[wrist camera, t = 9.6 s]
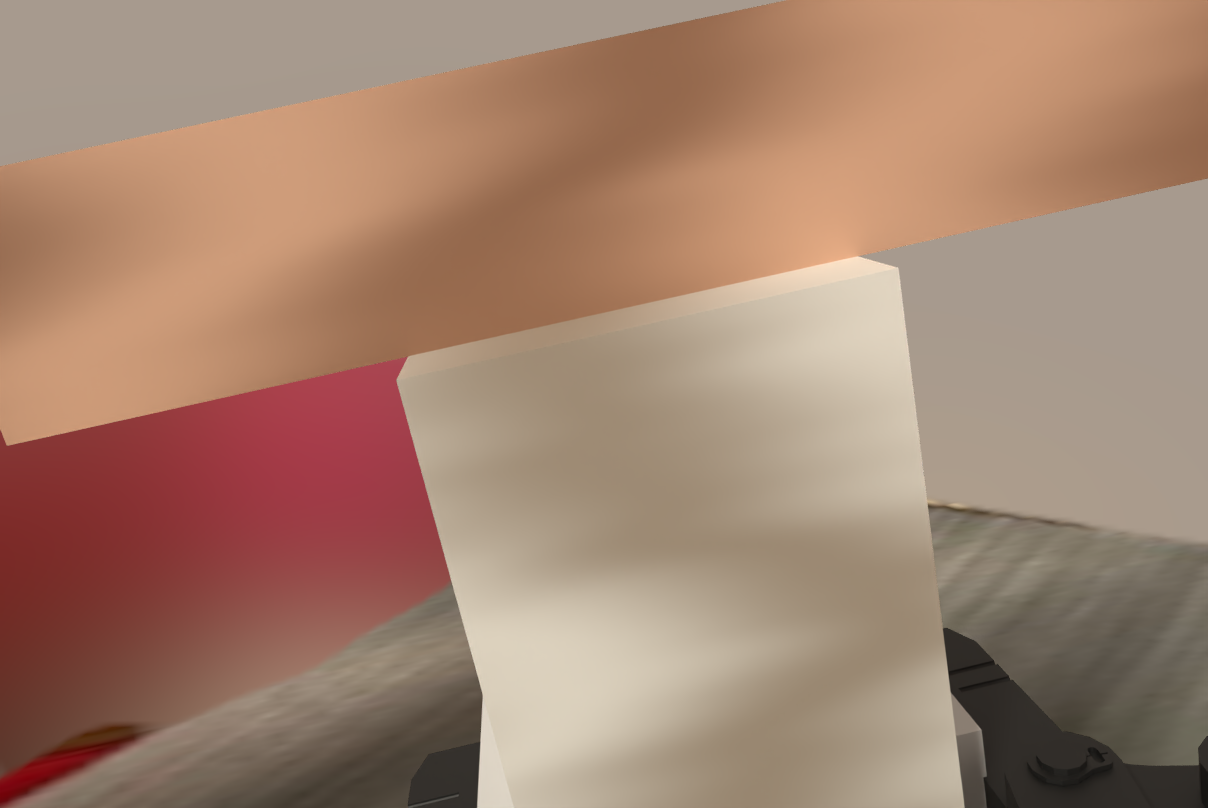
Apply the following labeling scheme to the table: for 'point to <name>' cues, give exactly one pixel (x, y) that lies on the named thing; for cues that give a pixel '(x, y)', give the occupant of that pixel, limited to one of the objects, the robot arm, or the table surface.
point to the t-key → (627, 347)
